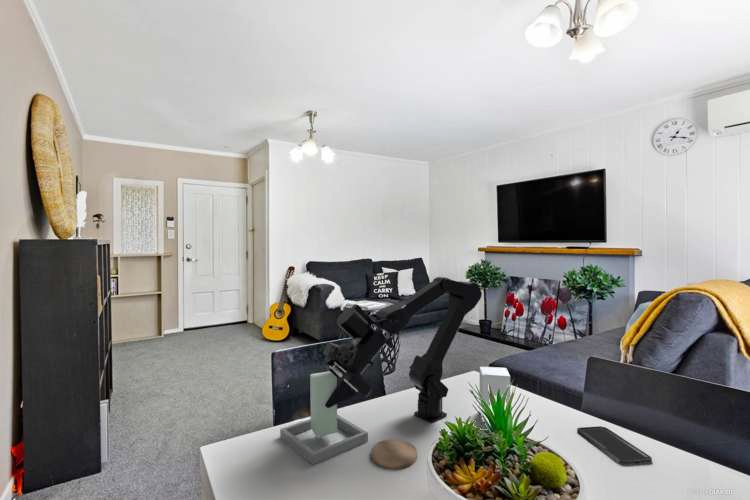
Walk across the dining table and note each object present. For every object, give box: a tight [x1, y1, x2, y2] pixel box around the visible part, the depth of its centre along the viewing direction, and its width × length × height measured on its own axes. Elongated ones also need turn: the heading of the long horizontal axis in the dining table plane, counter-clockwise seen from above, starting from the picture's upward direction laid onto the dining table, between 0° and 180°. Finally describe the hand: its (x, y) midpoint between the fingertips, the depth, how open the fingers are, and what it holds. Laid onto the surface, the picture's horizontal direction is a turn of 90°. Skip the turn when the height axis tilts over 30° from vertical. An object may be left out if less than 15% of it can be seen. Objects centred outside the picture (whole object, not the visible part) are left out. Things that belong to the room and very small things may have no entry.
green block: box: [309, 371, 338, 438], centre depth 90 cm, size 5×5×13 cm
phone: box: [576, 425, 653, 466], centre depth 87 cm, size 8×1×15 cm
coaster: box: [370, 438, 418, 470], centre depth 83 cm, size 10×10×1 cm
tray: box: [279, 414, 369, 465], centre depth 90 cm, size 15×15×2 cm
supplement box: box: [478, 366, 511, 423], centre depth 101 cm, size 7×7×13 cm
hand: (322, 402), depth 90 cm, fingers closed on green block, 5 cm apart
